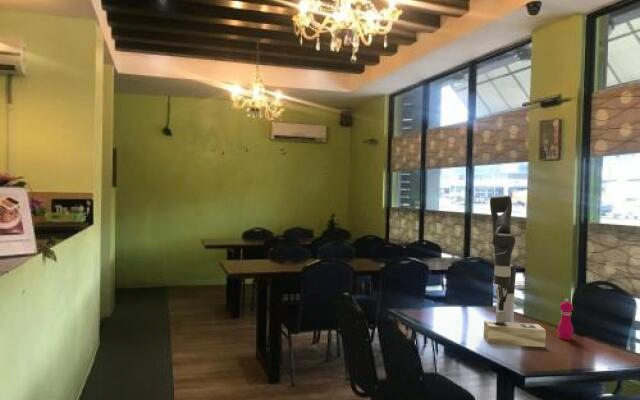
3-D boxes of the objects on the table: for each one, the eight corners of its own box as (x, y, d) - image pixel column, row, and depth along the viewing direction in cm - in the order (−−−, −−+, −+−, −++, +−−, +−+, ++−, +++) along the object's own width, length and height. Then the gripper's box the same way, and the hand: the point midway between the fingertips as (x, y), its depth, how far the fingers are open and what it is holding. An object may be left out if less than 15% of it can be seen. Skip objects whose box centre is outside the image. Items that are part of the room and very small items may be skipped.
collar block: (483, 336, 255) (484, 320, 255) (537, 340, 252) (538, 324, 252) (488, 343, 243) (489, 326, 243) (545, 347, 240) (545, 330, 240)
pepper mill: (574, 340, 255) (576, 300, 255) (559, 339, 256) (561, 299, 256) (570, 336, 262) (572, 298, 262) (555, 335, 263) (557, 297, 263)
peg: (495, 326, 251) (495, 310, 251) (503, 327, 250) (504, 311, 250) (496, 328, 247) (497, 312, 247) (505, 329, 246) (506, 313, 246)
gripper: (491, 272, 256) (490, 306, 256) (497, 276, 242) (495, 312, 242) (507, 273, 255) (505, 307, 255) (513, 277, 241) (512, 313, 241)
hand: (500, 310), depth 249 cm, fingers closed
